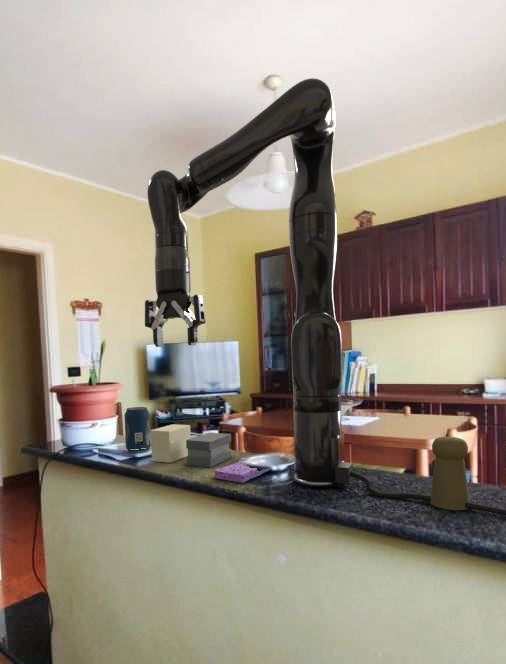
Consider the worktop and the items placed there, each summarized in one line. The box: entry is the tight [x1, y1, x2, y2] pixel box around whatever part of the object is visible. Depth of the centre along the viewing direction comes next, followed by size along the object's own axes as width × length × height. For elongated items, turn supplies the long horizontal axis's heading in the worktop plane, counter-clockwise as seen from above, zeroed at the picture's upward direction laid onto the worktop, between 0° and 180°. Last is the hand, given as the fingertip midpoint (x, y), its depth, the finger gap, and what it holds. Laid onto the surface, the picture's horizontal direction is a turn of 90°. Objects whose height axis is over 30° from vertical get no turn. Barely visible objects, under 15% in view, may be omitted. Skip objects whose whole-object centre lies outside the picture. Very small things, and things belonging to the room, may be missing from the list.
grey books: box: [186, 432, 232, 468], centre depth 105 cm, size 7×11×6 cm, turn 153°
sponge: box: [214, 459, 272, 484], centre depth 92 cm, size 7×13×2 cm, turn 145°
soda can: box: [123, 406, 151, 454], centre depth 120 cm, size 7×7×12 cm
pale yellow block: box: [150, 423, 191, 442], centre depth 110 cm, size 6×10×3 cm, turn 153°
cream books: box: [150, 435, 191, 464], centre depth 110 cm, size 6×10×5 cm, turn 153°
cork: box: [428, 436, 471, 511], centre depth 70 cm, size 6×6×11 cm
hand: (175, 346), depth 94 cm, fingers open, 8 cm apart
